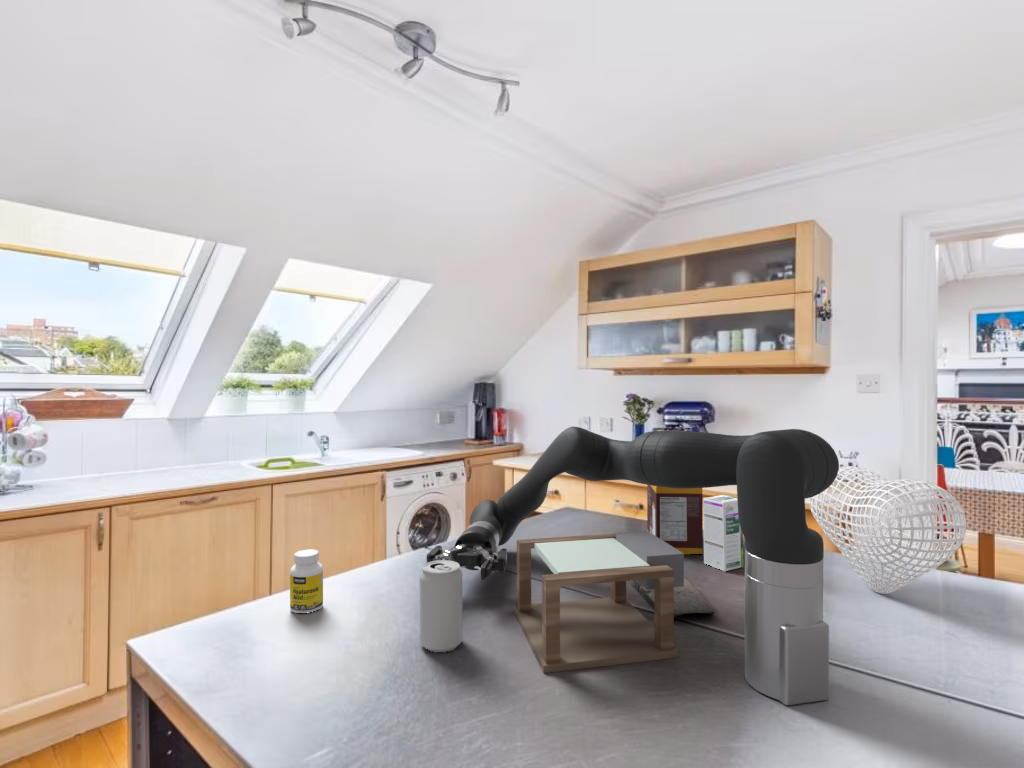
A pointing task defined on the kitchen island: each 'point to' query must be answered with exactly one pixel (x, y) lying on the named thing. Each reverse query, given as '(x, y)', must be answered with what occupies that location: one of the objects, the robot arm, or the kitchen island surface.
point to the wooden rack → (593, 616)
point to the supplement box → (676, 517)
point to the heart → (889, 526)
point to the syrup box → (722, 533)
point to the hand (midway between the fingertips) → (458, 573)
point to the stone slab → (679, 599)
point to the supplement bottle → (306, 582)
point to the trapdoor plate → (613, 555)
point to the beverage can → (440, 605)
